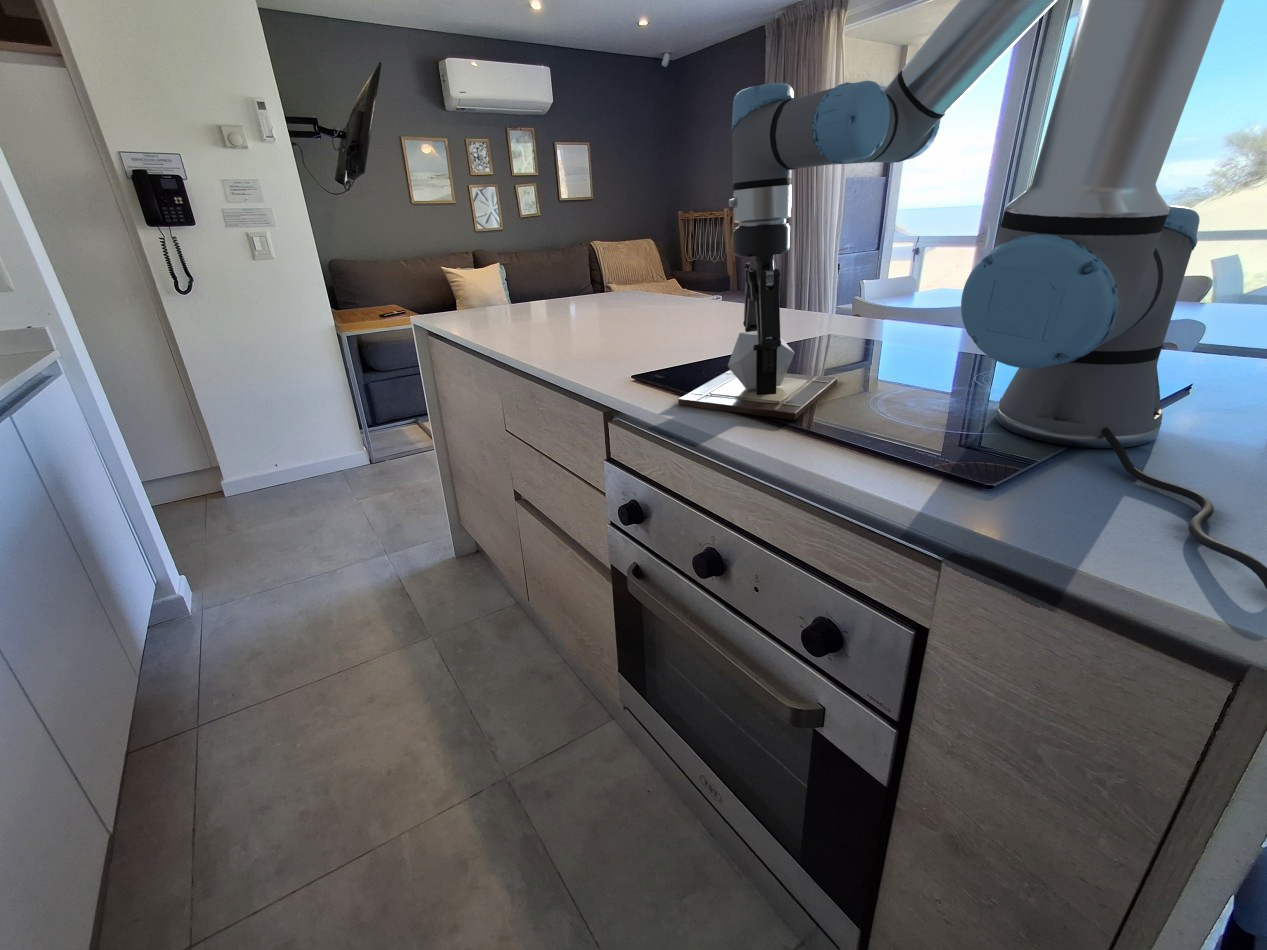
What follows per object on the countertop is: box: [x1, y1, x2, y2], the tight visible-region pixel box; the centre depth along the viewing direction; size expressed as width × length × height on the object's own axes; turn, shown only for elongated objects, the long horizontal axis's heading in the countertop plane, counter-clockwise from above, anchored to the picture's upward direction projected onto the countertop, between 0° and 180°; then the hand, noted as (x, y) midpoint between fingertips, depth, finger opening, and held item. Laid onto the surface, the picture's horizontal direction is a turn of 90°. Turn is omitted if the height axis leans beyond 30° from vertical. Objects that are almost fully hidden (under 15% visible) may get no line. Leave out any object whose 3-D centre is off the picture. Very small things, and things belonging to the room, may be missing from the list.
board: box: [677, 369, 838, 421], centre depth 87 cm, size 18×18×1 cm
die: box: [727, 331, 796, 390], centre depth 85 cm, size 8×9×10 cm
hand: (760, 384), depth 86 cm, fingers closed on die, 10 cm apart
